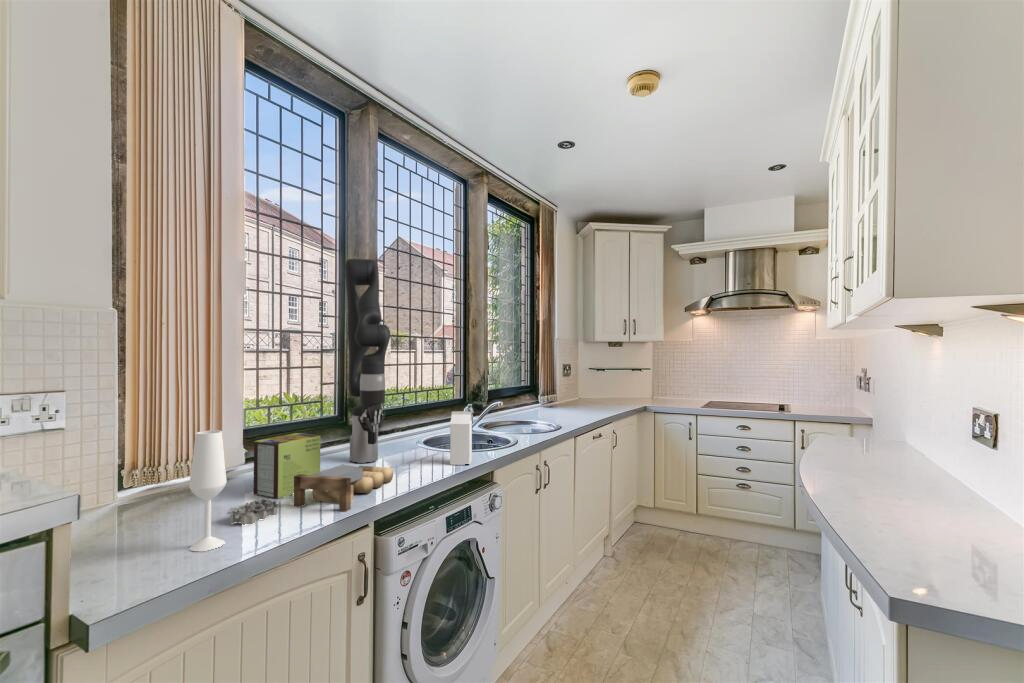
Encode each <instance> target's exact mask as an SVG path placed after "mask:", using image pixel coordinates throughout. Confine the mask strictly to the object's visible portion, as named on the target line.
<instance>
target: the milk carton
mask: <svg viewBox="0 0 1024 683" xmlns="http://www.w3.org/2000/svg"><path fill="white" fill-rule="evenodd" d="M450 417H451V418H450V424H449V426H450V427H449V428H450V429H449V431H450V432H449V436H450V437H449V439H450V440H449V441H450V442H449V449H450V450H449V466H458V465H459V466H466V465H465V464H470V465H471V463H472V461H471V460H472V458H473V456H472V453H473V452H472V450H473V449H472V448H473V444H472V443H473V441H472V440H473V438H472V437H473V429H472V428H473V419H472V412H471V411H464V410H463V411H462V410H461V411H460V410H459V411H458V410H457V411H451V416H450Z"/></svg>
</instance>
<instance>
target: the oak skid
mask: <svg viewBox="0 0 1024 683" xmlns="http://www.w3.org/2000/svg"><path fill="white" fill-rule="evenodd" d="M339 497H340V492H337V491H327V492H324V491H320V490H313V489H312V499H315V500H314V501H319V500H320V501H319V502H327V501H328V503H334V502H335V503H334V504H339ZM353 500H354V492H353V485H351V501H353Z"/></svg>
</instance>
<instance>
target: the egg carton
mask: <svg viewBox="0 0 1024 683" xmlns="http://www.w3.org/2000/svg"><path fill="white" fill-rule="evenodd" d="M280 505H282V504H281V502H278V503H277V501H276V500H271V499H268V498H266V499H265V498H263V497H262V496H260V497H259V498H257V499H255V500H254V501H250V502H246V503H244V504H243V505H242V504H241V505H239V506H238V507H231V508H229V509H228V510H227V512H226V515H229V524H230V523H234V522H241V524H243V525H245V524H253V523H255V524H256V522H257V521H256V520H259V519H265V518H266V519H267V517H266V516H268V517H270V516H269V515H275V516H277V515H278V508H279V507H280ZM276 514H277V515H276ZM266 519H265V520H266ZM255 521H256V522H255ZM241 524H240V525H241ZM253 525H254V524H253Z"/></svg>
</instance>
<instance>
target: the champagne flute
mask: <svg viewBox="0 0 1024 683" xmlns="http://www.w3.org/2000/svg"><path fill="white" fill-rule="evenodd" d="M193 443H194V445H193V452H192V460H191V461H192V462H191V471H190V477H189V486H188V487H189V489H190V491H191V493H192V494H193V495H195V496H197V497H198V498H199V499H201V500H203V501H204V522H203V523H204V524H203V526H204V531H203V532H204V534H203V536H204V537H202V538H200V540H197V542H195V543H194V544H192V545H190V546H191V547H190V546H189V547H190V549H191V550H193V551H206V552H208V551H207V550H211V549H214V550H216V549H215V548H217V549H219V548H218V547H220V548H221V546H222V545H223V544H225V545H226V543H225V542H226V541H225V540H223V539H220V538H218V537H215V536H212V535H211V534H212V500H213V499H214V498H215V497H217V496H218V495H219V494H220V493H221V492H222V491H223V490H224V488H225V486H226V485H227V472H226V460H225V451H224V450H225V449H224V441H223V431H222V430H217V429H214V430H202V431H198V432H195V437H194V442H193ZM223 546H224V545H223ZM223 546H222V547H223ZM211 551H212V550H211Z"/></svg>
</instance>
